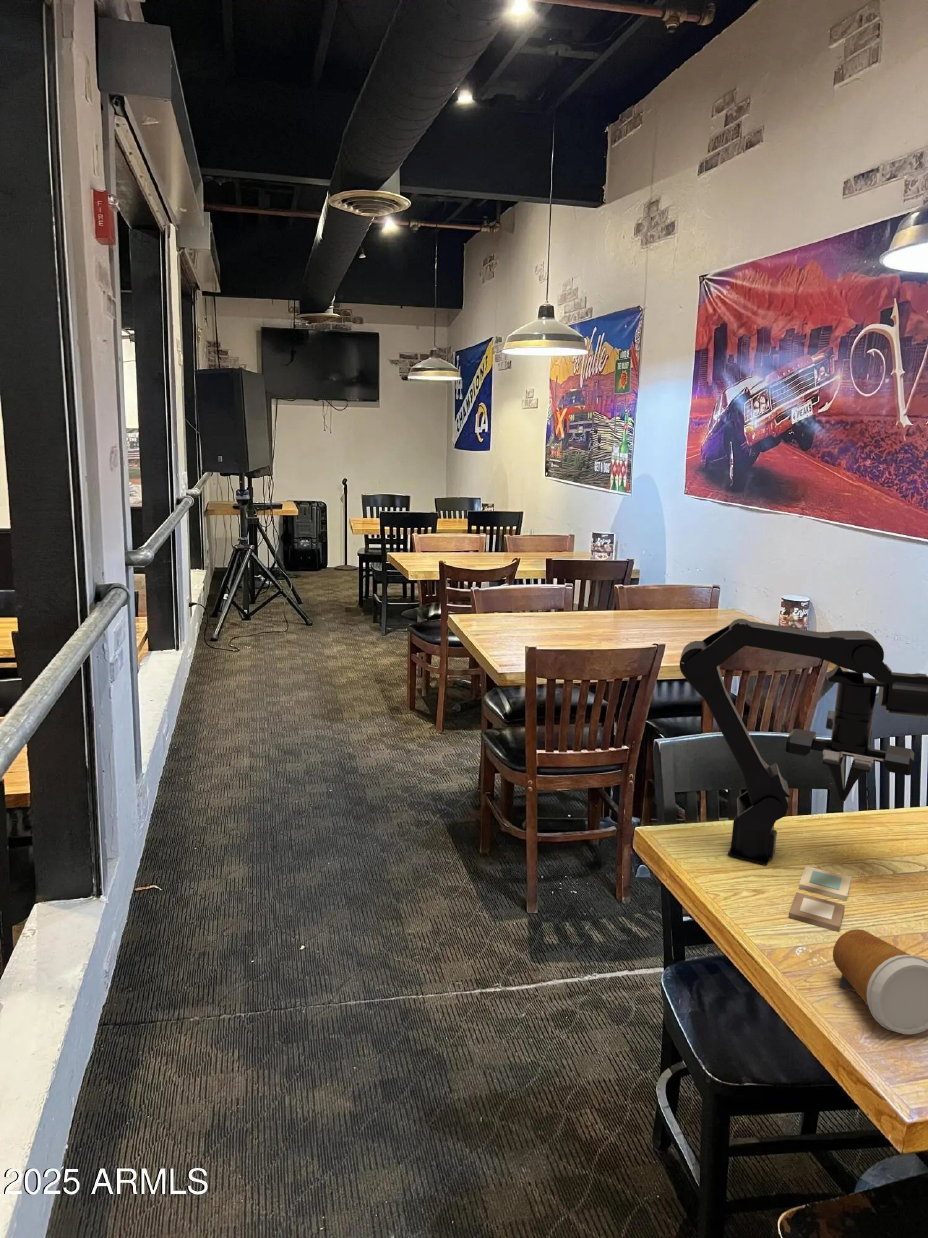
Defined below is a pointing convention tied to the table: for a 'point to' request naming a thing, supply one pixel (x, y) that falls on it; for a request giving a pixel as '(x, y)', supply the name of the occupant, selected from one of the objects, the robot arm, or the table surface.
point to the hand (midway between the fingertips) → (842, 800)
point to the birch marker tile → (825, 883)
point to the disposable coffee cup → (885, 980)
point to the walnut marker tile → (817, 911)
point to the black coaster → (846, 984)
